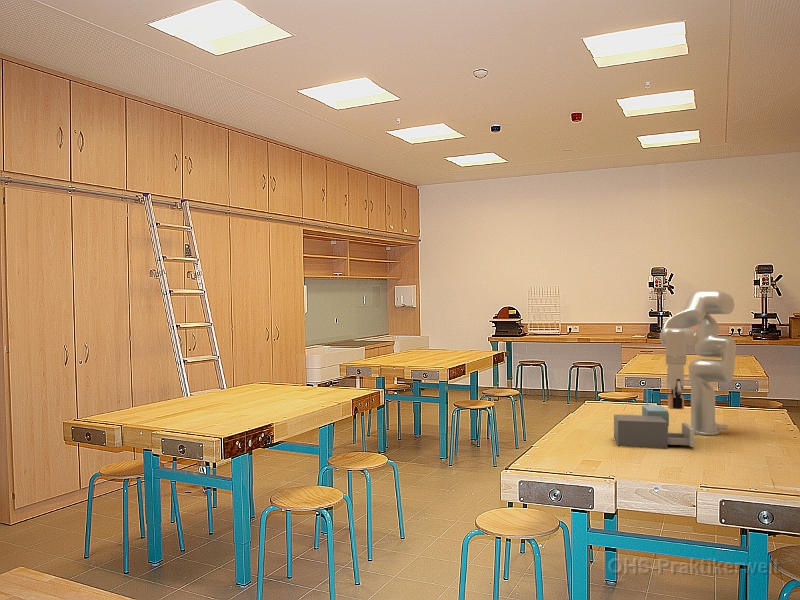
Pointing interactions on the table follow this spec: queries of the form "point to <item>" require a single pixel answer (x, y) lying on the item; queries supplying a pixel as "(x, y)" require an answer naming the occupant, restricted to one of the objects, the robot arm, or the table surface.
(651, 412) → the radio
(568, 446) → the table surface
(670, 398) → the block
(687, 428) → the light grey drawer
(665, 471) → the table surface
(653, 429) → the housing
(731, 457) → the table surface
